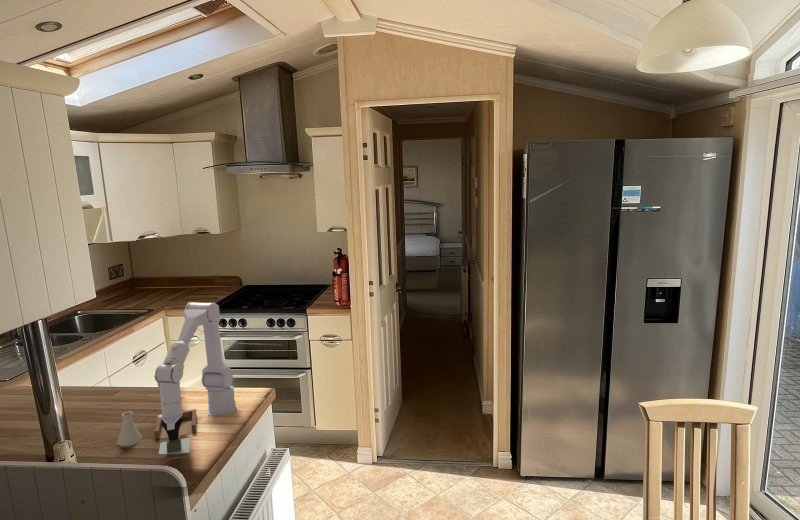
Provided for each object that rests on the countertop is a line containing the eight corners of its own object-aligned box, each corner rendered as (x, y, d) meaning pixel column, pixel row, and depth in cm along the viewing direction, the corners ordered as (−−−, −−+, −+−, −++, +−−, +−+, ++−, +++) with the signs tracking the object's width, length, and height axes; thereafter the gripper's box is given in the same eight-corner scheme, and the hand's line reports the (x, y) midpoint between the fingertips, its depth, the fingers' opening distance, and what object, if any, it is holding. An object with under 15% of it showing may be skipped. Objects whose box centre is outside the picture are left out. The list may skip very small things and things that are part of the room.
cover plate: (190, 440, 164) (189, 428, 164) (189, 455, 155) (188, 443, 154) (160, 445, 161) (159, 433, 160) (158, 460, 152) (157, 448, 151)
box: (196, 417, 180) (196, 409, 179) (196, 433, 167) (195, 424, 167) (159, 423, 175) (158, 414, 175) (155, 440, 163) (154, 431, 163)
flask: (131, 449, 158) (128, 419, 156) (111, 446, 159) (109, 417, 158) (147, 438, 165) (144, 409, 163) (128, 436, 166) (125, 407, 165)
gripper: (159, 394, 161) (162, 433, 163) (154, 412, 147) (158, 454, 149) (182, 390, 163) (185, 429, 165) (180, 408, 150) (183, 450, 152)
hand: (174, 441), depth 157 cm, fingers closed
